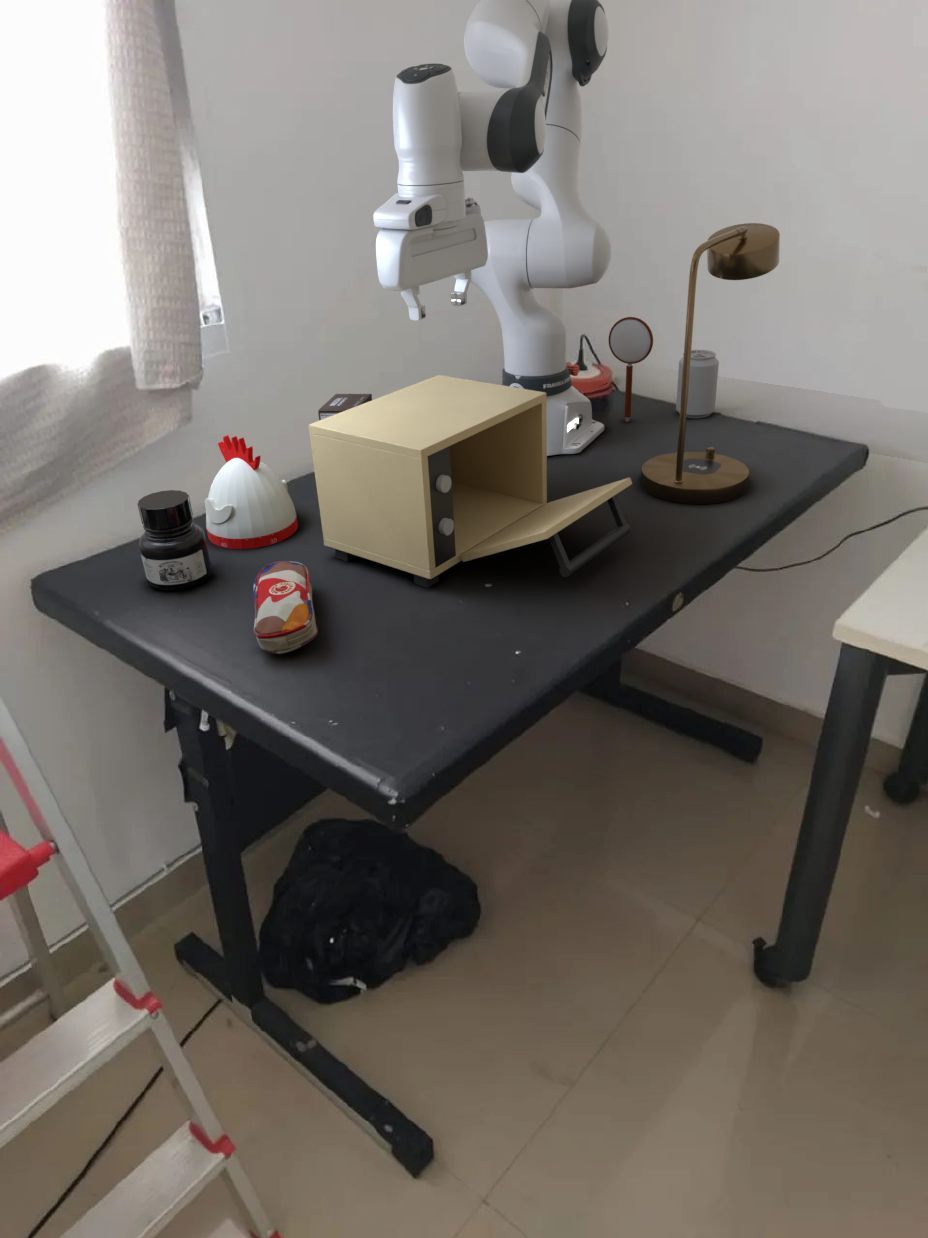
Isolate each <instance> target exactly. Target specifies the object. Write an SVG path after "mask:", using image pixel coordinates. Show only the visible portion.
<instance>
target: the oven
mask: <svg viewBox="0 0 928 1238" xmlns="http://www.w3.org/2000/svg"><path fill="white" fill-rule="evenodd" d="M308 432H309V439H310V448H311V456H312V464H313V471H314V477H315V485H316V492H317V494H316V495H317V500H318V509H319V516H320V523H321V530H322V537H323V538H322V539H323V545H324V546H325V547H329V548H331V549H334V550H335V558H336V559H340V560H341V561H345V562H350V561H352V560H353V559H355V558H357V557H360V558H362V559H366V560H369V561H372V562H375V563H378V564H380V565H381V564H382V565H384V566H388V567H391V568H394V569H396V570H400V571H403V572H407V573H409V574H412V575H413V583H414V584H415V585H418V586H421V587H424V588H427V589H428V588H430V587H431V586H433V585H436V583H438V582H439V581H440V579H439V578H440V577H439V575H440V574H442V573H443V572H445V571H447V570H448V569H450V568H452V567H454V566H455V565H457V564H458V563H460V562H463V560H462V558H461V555H462V554H464V553H465V552H467V551H469V550H470V549H472V548H474V547H475V546H477V545H479V544H480V543H482V542H484V541H485V540H487V539H489V538H490V537H492V536H494V535H495V534H497V533H499V532H500V531H502V530H504V529H505V528H507V527H509V526H510V525H512V524H514V523H515V522H517V521H519V520H520V519H522V518H524V517H525V516H527V515H529V514H530V513H532V512H534V511H535V510H537V509H539V508H540V507H542V506H544V505H545V504H547V503H548V475H547V474H548V473H547V472H548V465H547V464H548V463H547V462H548V461H547V460H548V456H547V416H546V393H545V392H539V391H533V390H527V389H521V388H515V387H509V386H503V385H502V384H498V383H497V384H496V383H490V382H484V381H479V380H473V379H472V380H471V379H466V378H461V377H460V378H459V377H453V376H448V375H443V374H437V375H435V376H433V377H430V378H427V379H425V380H422V381H419V382H416V383H414V384H411V385H408V386H406V387H403V388H400V389H398V390H395V391H392V392H390V393H388V394H385V395H383V396H379V397H378V398H375V399H372V401H369V402H367V403H364V404H361V405H359V406H356V407H354V408H351V409H348V410H346V411H343V412H341V413H338V414H335V415H333V416H330V417H327V418H325V419H322V420H320V421H319V420H317V421H315V422H312V423H310V424H308Z"/></svg>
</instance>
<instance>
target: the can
mask: <svg viewBox="0 0 928 1238" xmlns="http://www.w3.org/2000/svg"><path fill="white" fill-rule="evenodd" d="M716 356H717V353H716V352H715V351H713V350H708V349H691V361H690V375H689V389H688V402H687V416H686V418H689V419H703V418H707V417H709V416H710V415H711V414H713V413H714V412H715V410H716V400H717V389H718V376H719V367H720V366H719V365H720V361H719V360H718V358H717V357H716ZM683 360H684V352H682V357H681V358H680V359H679V361H678V371H677V372H678V373H677V385H676V386H677V388H676V399H675V400H676V401H675V402H676V403H675V410H676V412H678V414H680V404H681V389H682V374H683Z"/></svg>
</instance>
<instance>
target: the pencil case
mask: <svg viewBox="0 0 928 1238" xmlns="http://www.w3.org/2000/svg"><path fill="white" fill-rule="evenodd" d="M253 604H254V605H253V607H254V608H253V610H254V613H253V614H254V625H253V634H254V635H255V638H256V641H257V643H258V646H259V647H260V648H261V649H262V651H263V652H265V653H268V654H272V655H282V654H283V655H285V654H287V653H290V652H293V651H295V650H297V649H299V648H301V647H303V646H305V645H307V644H309V643H310V642H311V641H313V640H314V639H315V638H316V636H317V635H318V632H319V630H318V625H317V622H316V615H315V609H314V604H313V587H312V584H311V582H310V573H309V569H308V567H307V566H306V565H305V564H304V563H301V562H299V561H294V560H293V561H292V560H279V561H274V562H271V563H268V564H267V565H265V566H263V567H262V568H261V571H259V572H258V573H257V574H256V576H255V578H254V581H253Z"/></svg>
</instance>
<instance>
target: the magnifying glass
mask: <svg viewBox="0 0 928 1238" xmlns="http://www.w3.org/2000/svg"><path fill="white" fill-rule="evenodd" d="M653 345H654V335H653V332H652V330H651V327H650V326H649V325H648V324H647V323H646V322H645V321H644V320H643V319H641V318H639V317H637V316H636V317H635V316H626V317H623V318H620V319H618V320H617V321H616V322H615V323H614V324H613V325H612V326H611V328H610V330H609V333H608V347H609V350H610V352H611V354H612V355H613V356H614V358H615V359H617V360H618V361H619V362H621V363H624V364H627V365H626V368H625V391H624V393H625V394H624V397H625V398H624V418H625V422H626V423H629V421H630V418H631V417H632V416H631V415H632V394H633V392H632V390H633V369H634V367H633V365H634V364H635V365H636V364H638V363H641V362H642V361H644V360H646V359H647V358H648V356H649V355H650V354H651V351H652V349H653Z"/></svg>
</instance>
